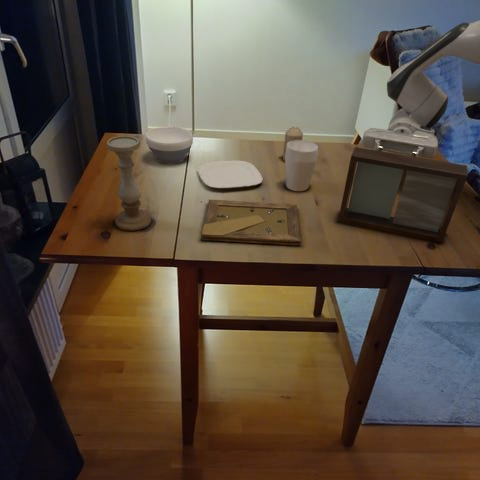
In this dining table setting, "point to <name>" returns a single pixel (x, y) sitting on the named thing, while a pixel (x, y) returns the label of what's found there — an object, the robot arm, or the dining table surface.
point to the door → (375, 189)
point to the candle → (292, 137)
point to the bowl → (169, 143)
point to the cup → (300, 164)
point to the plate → (229, 174)
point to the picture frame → (251, 222)
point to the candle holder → (128, 185)
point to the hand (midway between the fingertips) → (396, 153)
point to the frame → (411, 195)
